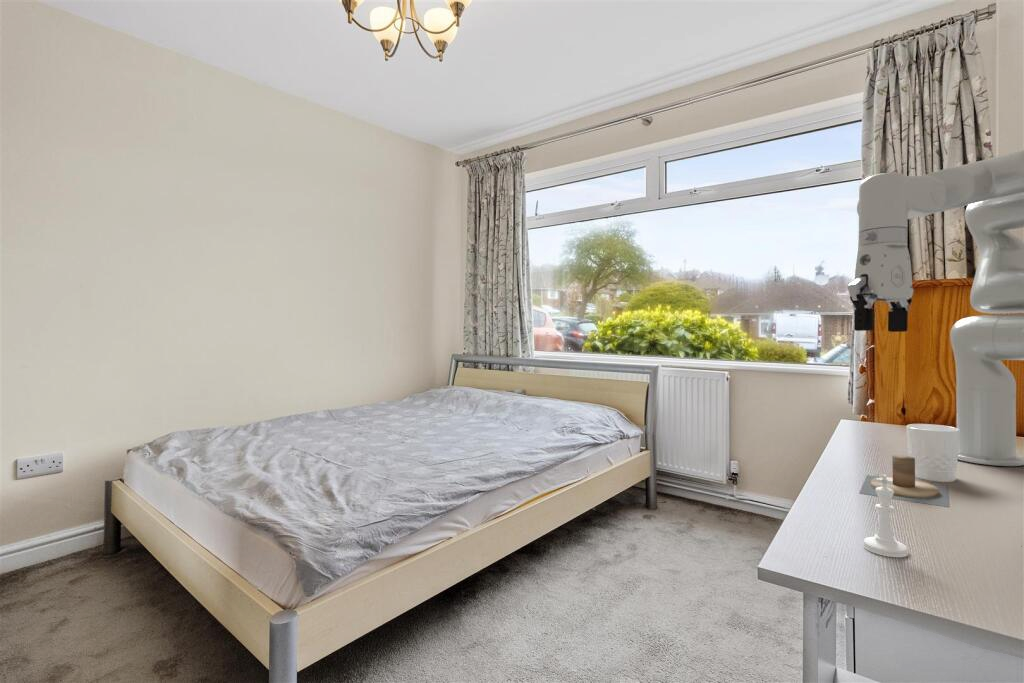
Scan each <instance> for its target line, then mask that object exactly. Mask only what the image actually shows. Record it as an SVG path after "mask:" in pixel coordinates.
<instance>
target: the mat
mask: <svg viewBox="0 0 1024 683" xmlns="http://www.w3.org/2000/svg"><path fill="white" fill-rule="evenodd" d="M874 478H882V476H877V475H869V474H866V477H865V478H864V481H863V483H862V486H861V488H860V491H859V493H858V494H860V495H861V494H862V495H867V496H872V497H873V496H874V497H878V496H877V493H876V491H875V489H874V488H873V487H872V486H871V480H872V479H874ZM927 483H928V482H927ZM928 484H931V485H933V486H935V487H937V488H938V489H939V495H938V496H937V497H933V498H912V497H904V496H898V495H893V496H892V498H891V500H893V499H894V500H898V501H906V502H911V503H919V504H924V505H925V504H926V505H930V506H937V507H945V508H950V503H949V494H948V493H949V492H948V485H944V484H936V483H928Z"/></svg>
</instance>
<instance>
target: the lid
mask: <svg viewBox="0 0 1024 683" xmlns="http://www.w3.org/2000/svg"><path fill="white" fill-rule="evenodd" d="M891 461H892V477H888V476H887V480H892V484H887V487H888V488H890V489H892V490H893V491H894V494H893V495H898V496H904V497H912V498H933V497H937V496H938V495H939V489H938V488H937V487H935V486H933V485H931V484H932V483H930V484H928V482H924V481H920V480H916V477H915V458H914V457H910V456H909V455H902V454H894V455H892V460H891ZM878 479H882V478H878ZM871 486H872V487H873V488H874V489H876V488H877V487H882V483H878V482H877V478H874V479H872V480H871Z"/></svg>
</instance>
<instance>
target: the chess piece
mask: <svg viewBox="0 0 1024 683" xmlns="http://www.w3.org/2000/svg"><path fill="white" fill-rule="evenodd" d="M881 475H882V476H881V477H882V479H878V478H877V482H878V483H882V487H877V488H876V489H875V491H876V493H877V496H876V497H877V498H878V502H879V503H877V504H875V506H874V508H875V509H877V510H879V520H878V528H877V533H875V534H874V536H868V537H865V538H864V539H863V540H862V541H863V543H862V547H863V548H864V549H865V550H867V551H869V552H871V553H873V554H876V555H879V556H883V557H887V558H905V557H908V556H909V551H908V546H906V545H905V544H904V543H902V542H900V541H898V540H897V538H896V537H894V535H893V531H892V525H891V516H890V515H891V514H890V512H894V511H895V510H896V509H895V507H894V506H893V505H891V501H892V499H891V498H892V496H893V494H894V491H893V490H892V489H890V488H888V487H887V484H892V480H887V477H888V475H887V474H883V473H882V474H881Z"/></svg>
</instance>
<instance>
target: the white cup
mask: <svg viewBox="0 0 1024 683" xmlns="http://www.w3.org/2000/svg"><path fill="white" fill-rule="evenodd" d="M906 437H907V438H906V439H907V440H906V441H907V453H908V456H910V457H914V458H915V478H916V479H922V480H925V481H931V482H942V483H945V482H946V483H949V482H950V483H951V482H955V481H956V480H957V468H958V448H959V429H958V428H957V427H954V426H948V425H944V424H943V425H942V424H934V423H933V424H931V423H911V424H910V423H909V424H907V425H906Z"/></svg>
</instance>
